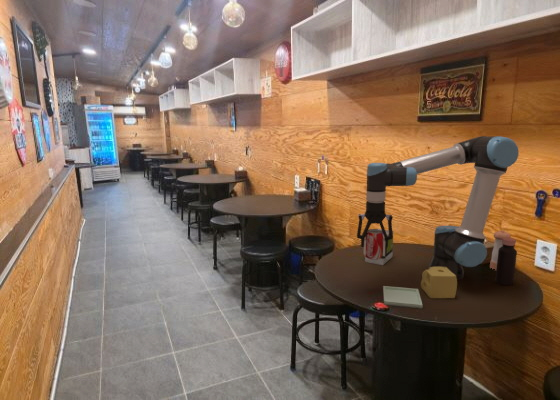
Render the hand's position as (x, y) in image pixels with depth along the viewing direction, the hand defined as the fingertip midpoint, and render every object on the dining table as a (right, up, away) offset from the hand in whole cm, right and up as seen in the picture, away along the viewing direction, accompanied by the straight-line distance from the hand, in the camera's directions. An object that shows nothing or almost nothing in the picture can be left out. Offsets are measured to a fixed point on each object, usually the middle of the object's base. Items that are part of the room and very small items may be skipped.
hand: (374, 254), depth 149 cm
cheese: (+26, -16, -1) cm, 31 cm away
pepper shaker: (+67, -11, +23) cm, 71 cm away
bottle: (+60, -14, +8) cm, 62 cm away
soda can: (0, -2, 0) cm, 2 cm away
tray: (+10, -17, -5) cm, 20 cm away
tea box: (+13, -9, +38) cm, 41 cm away
